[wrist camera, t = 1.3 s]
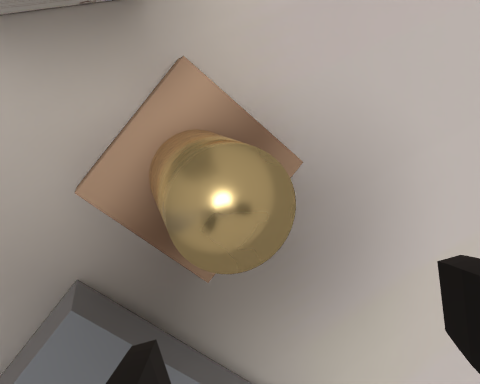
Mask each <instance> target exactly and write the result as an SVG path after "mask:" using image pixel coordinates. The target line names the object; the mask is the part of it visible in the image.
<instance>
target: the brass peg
mask: <svg viewBox="0 0 480 384" xmlns="http://www.w3.org/2000/svg"><path fill="white" fill-rule="evenodd" d="M149 184H150V189H151V192H152V194H153V197H154V199H155V202H156V204H157V206H158V209H159V211H160V214H161V216H162V218H163V221H164V223H165V226H166V228H167V230H168V233H169V235H170V238H171V240H172V242H173V244H174V245H175V247H176V248H177V250H178V251H179V253H180V254H181V255H182V256H183V257H184V258H185V259H186V260H188V261H189V262H190V263H191V264H193V265H195V266H196V267H198V268H200V269H203V270H205V271H208V272H212V273H218V274H235V273H241V272H245V271H248V270H250V269H253V268H255V267H257V266H259V265H261V264H263V263H264V262H265V261H267V260H268V259H270V258H271V257H272V256H273V255H274V254H275V253H276V252H277V251H278V250H279V249H280V247H281V246H282V245H283V243H284V242H285V240H286V238H287V236H288V235H289V233H290V230H291V228H292V225H293V221H294V217H295V210H296V199H295V192H294V188H293V184H292V182H291V179H290V177H289V175H288V173H287V172H286V170H285V169H284V167H283V166H282V165H281V163H280V162H279V161H278V160H277V159H276V158H274V157H273V156H272V155H270V154H269V153H267V152H266V151H264V150H262V149H260V148H257V147H254V146H252V145H249V144H246V143H243V142H240V141H237V140H234V139H231V138H228V137H225V136H222V135H219V134H216V133H213V132H210V131H206V130H199V129H196V130H187V131H183V132H180V133H178V134H175V135H173V136H172V137H170V138H169V139H167V140H166V141H165V142H164V143H163V144H162V145H161V146H160V147H159V149H158V150H157V152H156V153H155V155H154V157H153V159H152V162H151V165H150V170H149Z"/></svg>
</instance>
